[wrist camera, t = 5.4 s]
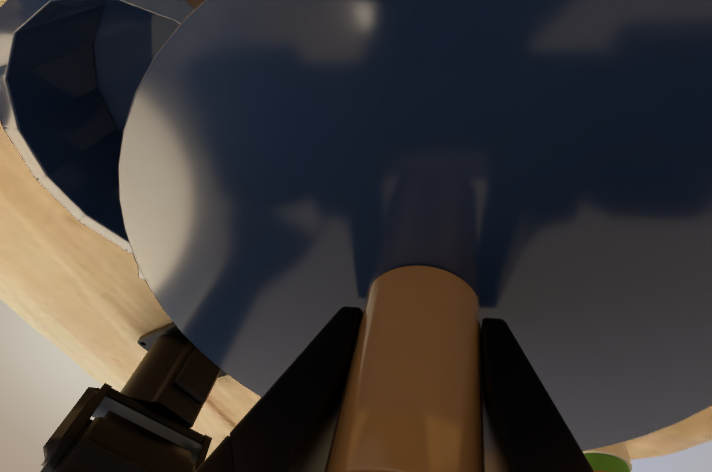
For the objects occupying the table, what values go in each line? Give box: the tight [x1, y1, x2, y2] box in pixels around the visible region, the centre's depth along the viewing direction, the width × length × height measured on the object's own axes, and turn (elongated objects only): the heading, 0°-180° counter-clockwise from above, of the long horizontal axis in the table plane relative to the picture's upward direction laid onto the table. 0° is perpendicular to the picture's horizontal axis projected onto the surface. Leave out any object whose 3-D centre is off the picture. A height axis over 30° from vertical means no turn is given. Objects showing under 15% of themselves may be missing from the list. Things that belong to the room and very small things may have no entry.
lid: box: [118, 0, 712, 472], centre depth 8 cm, size 14×14×5 cm
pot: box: [0, 0, 205, 280], centre depth 19 cm, size 13×18×6 cm
